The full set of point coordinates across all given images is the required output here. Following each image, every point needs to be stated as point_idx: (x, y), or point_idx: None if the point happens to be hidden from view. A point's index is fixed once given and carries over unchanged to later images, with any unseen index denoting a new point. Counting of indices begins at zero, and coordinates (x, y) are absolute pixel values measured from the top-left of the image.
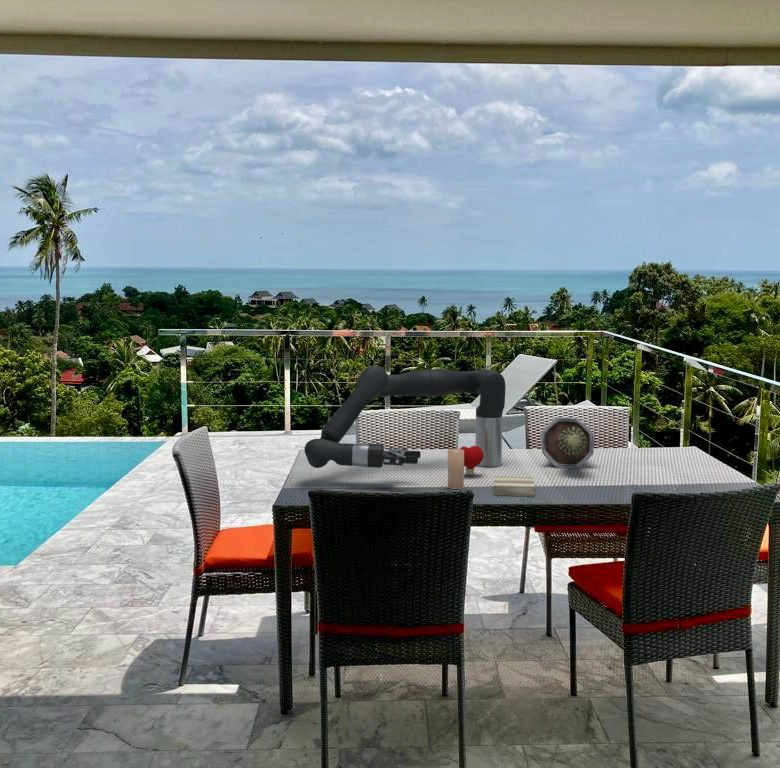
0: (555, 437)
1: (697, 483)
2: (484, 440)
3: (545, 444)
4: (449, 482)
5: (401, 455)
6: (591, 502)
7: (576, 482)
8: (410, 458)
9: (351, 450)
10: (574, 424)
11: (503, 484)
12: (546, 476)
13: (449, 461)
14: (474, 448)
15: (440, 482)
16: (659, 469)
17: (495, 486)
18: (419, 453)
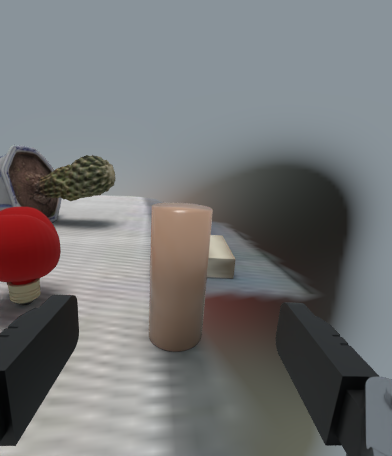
0: (20, 179)
1: (145, 203)
2: None
3: (14, 193)
4: (195, 326)
5: (382, 439)
6: (228, 230)
7: (134, 227)
8: (348, 347)
9: None
10: (33, 157)
11: (218, 251)
12: (90, 236)
13: (200, 253)
14: (35, 212)
15: (84, 377)
16: (89, 203)
17: (234, 259)
18: (73, 310)
